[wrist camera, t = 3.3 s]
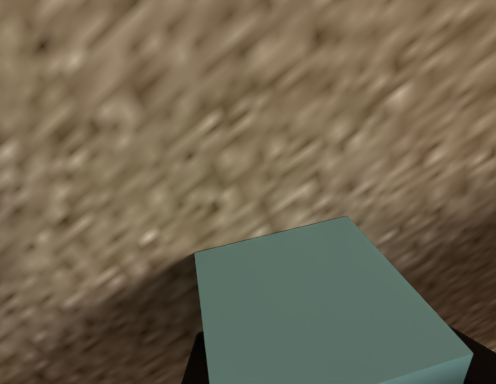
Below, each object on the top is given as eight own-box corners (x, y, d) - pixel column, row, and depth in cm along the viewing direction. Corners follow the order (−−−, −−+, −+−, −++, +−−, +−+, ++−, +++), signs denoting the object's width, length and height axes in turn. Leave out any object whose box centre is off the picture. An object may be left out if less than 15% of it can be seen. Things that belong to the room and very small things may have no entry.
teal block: (344, 319, 12) (432, 469, 8) (221, 353, 11) (251, 534, 7) (347, 216, 9) (473, 353, 6) (194, 252, 9) (215, 434, 5)
